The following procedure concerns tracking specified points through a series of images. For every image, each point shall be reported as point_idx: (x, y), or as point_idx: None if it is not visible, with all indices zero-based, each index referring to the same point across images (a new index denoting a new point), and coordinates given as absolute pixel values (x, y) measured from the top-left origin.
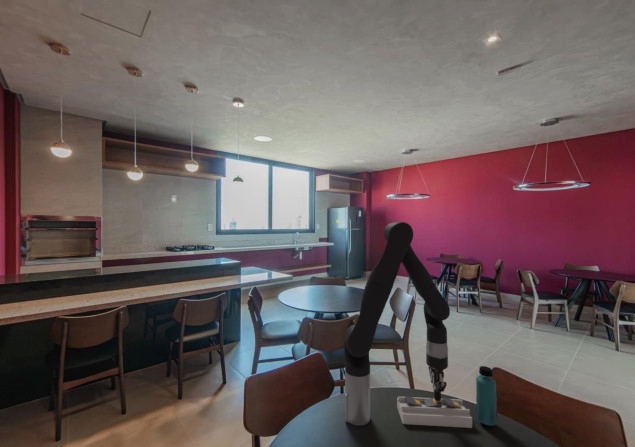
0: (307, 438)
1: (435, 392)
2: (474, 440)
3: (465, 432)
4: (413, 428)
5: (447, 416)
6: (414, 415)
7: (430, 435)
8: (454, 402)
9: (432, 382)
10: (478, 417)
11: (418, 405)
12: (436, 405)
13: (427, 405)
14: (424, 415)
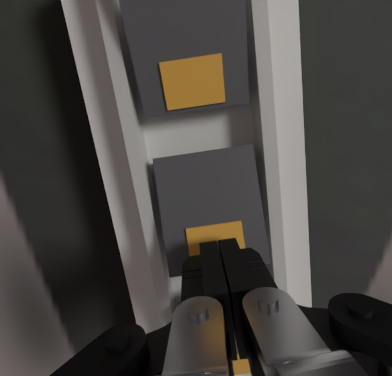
0: None
1: (204, 286)
2: (73, 338)
3: (117, 316)
4: (60, 52)
5: (126, 276)
6: (73, 47)
7: (33, 147)
8: (243, 359)
9: (332, 322)
10: None
11: (137, 82)
12: (164, 235)
13: (169, 164)
14: (92, 127)
